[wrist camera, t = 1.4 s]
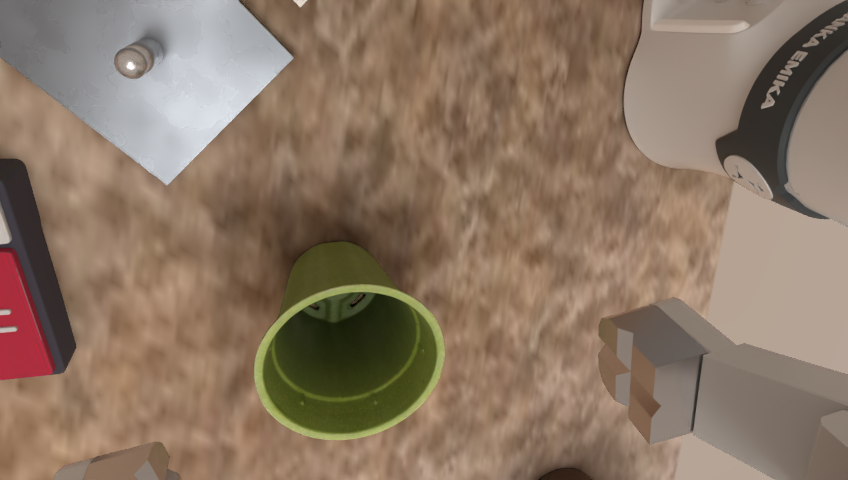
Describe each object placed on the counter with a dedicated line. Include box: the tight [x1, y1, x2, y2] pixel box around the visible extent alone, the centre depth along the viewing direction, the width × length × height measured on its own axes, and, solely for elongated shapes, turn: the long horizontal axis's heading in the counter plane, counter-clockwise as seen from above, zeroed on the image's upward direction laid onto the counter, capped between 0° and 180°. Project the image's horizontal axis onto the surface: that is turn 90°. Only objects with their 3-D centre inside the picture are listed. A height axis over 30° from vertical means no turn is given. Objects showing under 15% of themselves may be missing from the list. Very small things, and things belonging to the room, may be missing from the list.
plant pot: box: [254, 241, 445, 440], centre depth 39 cm, size 12×12×11 cm
